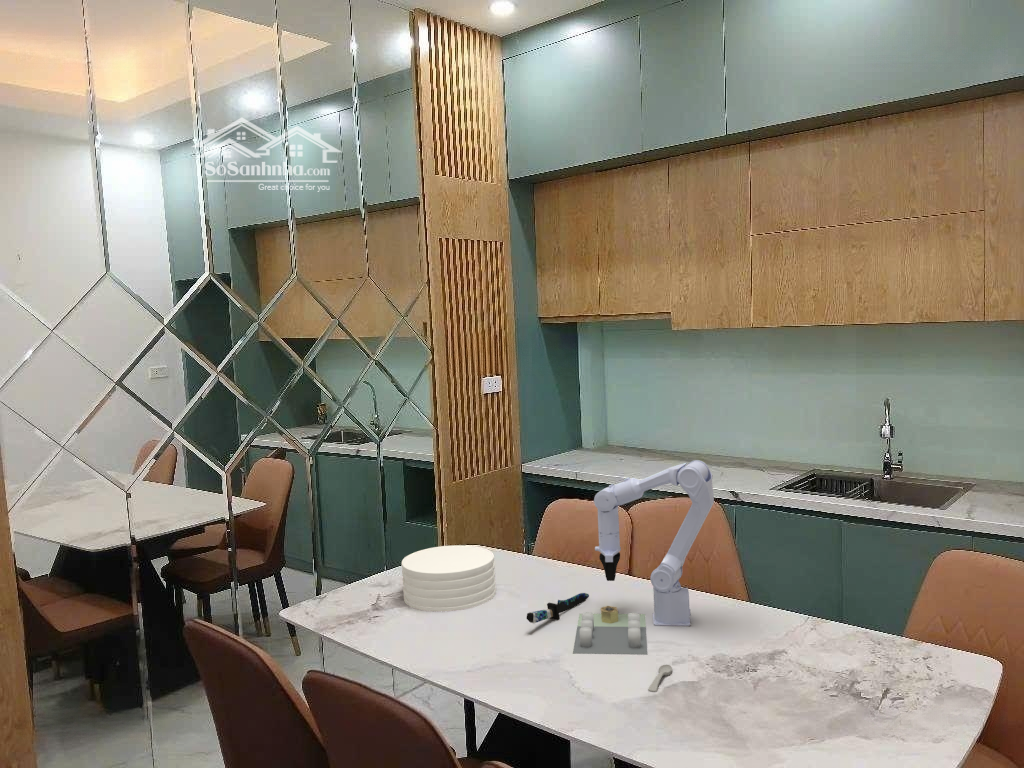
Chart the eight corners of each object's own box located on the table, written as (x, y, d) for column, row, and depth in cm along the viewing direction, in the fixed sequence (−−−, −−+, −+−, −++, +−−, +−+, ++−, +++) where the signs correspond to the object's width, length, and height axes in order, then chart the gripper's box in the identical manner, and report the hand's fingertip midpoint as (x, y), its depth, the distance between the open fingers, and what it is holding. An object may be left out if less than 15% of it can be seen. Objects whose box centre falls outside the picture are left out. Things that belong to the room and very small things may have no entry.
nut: (616, 616, 210) (615, 605, 210) (618, 623, 205) (618, 611, 205) (600, 616, 210) (600, 605, 210) (602, 623, 205) (602, 612, 205)
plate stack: (445, 575, 254) (443, 541, 254) (514, 588, 238) (512, 552, 237) (384, 601, 232) (382, 564, 231) (455, 618, 215) (453, 578, 215)
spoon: (674, 670, 177) (674, 662, 177) (658, 697, 166) (658, 689, 166) (662, 668, 178) (661, 660, 178) (645, 695, 168) (644, 686, 168)
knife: (530, 630, 200) (530, 613, 200) (521, 628, 202) (521, 610, 202) (596, 606, 224) (597, 591, 224) (587, 604, 226) (588, 589, 226)
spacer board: (645, 614, 211) (644, 599, 211) (647, 655, 185) (646, 638, 185) (579, 614, 214) (578, 599, 213) (572, 654, 188) (572, 637, 188)
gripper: (595, 524, 219) (597, 571, 220) (593, 539, 205) (595, 588, 206) (620, 524, 218) (622, 571, 219) (619, 538, 204) (621, 588, 205)
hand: (610, 580), depth 213 cm, fingers closed
